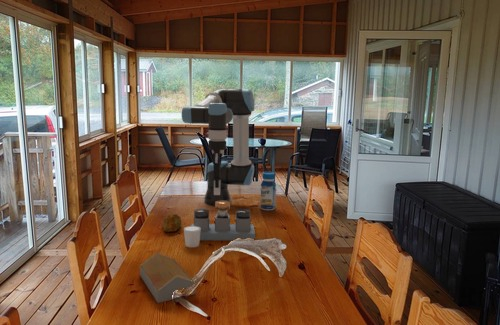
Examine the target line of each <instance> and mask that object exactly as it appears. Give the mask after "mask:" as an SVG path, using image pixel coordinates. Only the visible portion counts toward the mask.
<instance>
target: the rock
mask: <svg viewBox="0 0 500 325" xmlns="http://www.w3.org/2000/svg"><path fill="white" fill-rule="evenodd" d="M181 225H182V218H181V216H179V215H178V214H177V213H173V212H172V213H169V214H167V215H166V216H165V218H164V219H163V222H162V227H163V231H164V232H167V233H170V232H176V231H177V230H179V229H180V228H181Z"/></svg>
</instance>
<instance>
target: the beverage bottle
mask: <svg viewBox="0 0 500 325" xmlns="http://www.w3.org/2000/svg"><path fill="white" fill-rule="evenodd" d="M275 178H276V172H274V171H264V172H262V179H263V180H262V182H261V184H260V186H261V187H260V207H259V208H260V209H261V210H263V211H274V210H275V209H276V200H277V199H276V195H277V194H276V193H277V188H276V187H277V183H276V182H275Z"/></svg>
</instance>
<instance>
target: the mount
mask: <svg viewBox="0 0 500 325" xmlns="http://www.w3.org/2000/svg"><path fill="white" fill-rule="evenodd" d="M251 220H252V218H251V216H250V218H246V219H241V218H237V217H236V216H235V223H234V224H233V223H232V224H231V222H230V221H231V215H230V214H227V218H218V213H217V214H215V215H214V223H212V224H211V223H210V216H209V217H208V218H195V217H194V216H193V223H192V224H190V226H198V227H200V228H201V231H200V241H235V240H234V239H237V238H241V239H246V238H252V239H255V240H256V231H255V227H254V226H255V225H254V224H251V222H252V221H251Z"/></svg>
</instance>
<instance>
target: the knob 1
mask: <svg viewBox="0 0 500 325" xmlns="http://www.w3.org/2000/svg"><path fill="white" fill-rule="evenodd" d="M193 211H194V212H193V214H194V215H193V218H194V217H195V218H208V217H209V218H210V209H207V208H197V209H194V210H193Z"/></svg>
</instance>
